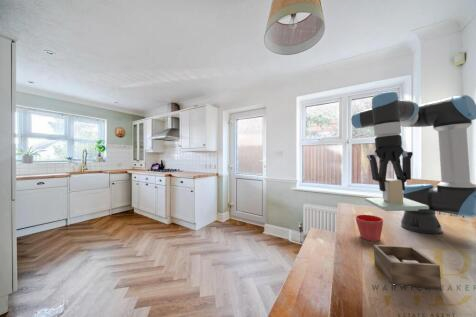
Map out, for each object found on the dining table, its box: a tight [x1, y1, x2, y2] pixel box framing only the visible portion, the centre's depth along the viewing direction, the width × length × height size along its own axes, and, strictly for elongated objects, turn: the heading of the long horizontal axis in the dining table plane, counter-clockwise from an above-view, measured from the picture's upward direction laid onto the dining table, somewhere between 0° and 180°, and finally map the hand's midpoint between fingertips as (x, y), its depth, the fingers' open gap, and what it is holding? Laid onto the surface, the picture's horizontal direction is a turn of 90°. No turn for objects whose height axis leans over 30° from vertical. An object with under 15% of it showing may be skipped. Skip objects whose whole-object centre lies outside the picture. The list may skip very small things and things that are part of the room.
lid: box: [364, 178, 429, 212], centre depth 66 cm, size 13×13×10 cm
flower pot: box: [355, 214, 384, 242], centre depth 89 cm, size 11×11×10 cm
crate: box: [372, 244, 442, 291], centre depth 61 cm, size 12×12×7 cm
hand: (392, 199), depth 66 cm, fingers closed on lid, 3 cm apart
